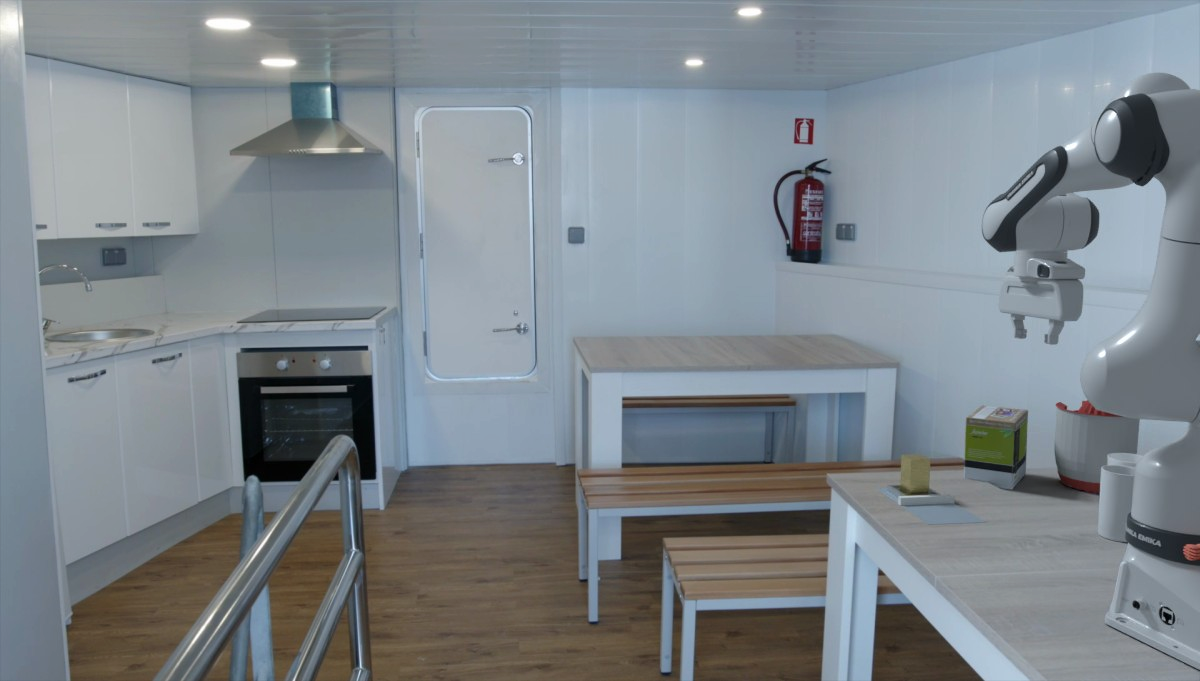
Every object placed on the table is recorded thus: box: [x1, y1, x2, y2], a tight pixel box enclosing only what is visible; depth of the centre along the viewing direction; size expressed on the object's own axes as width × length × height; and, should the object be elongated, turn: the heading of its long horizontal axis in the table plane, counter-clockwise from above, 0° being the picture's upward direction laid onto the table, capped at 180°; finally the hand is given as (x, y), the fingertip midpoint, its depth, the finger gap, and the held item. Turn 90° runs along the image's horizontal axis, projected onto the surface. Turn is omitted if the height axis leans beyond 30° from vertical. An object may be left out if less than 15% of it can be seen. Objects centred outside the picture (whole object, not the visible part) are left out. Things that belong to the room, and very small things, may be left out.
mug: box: [1097, 465, 1135, 543], centre depth 153 cm, size 10×7×12 cm, turn 150°
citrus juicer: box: [1054, 399, 1141, 494], centre depth 182 cm, size 16×17×20 cm
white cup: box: [1107, 453, 1144, 468], centre depth 168 cm, size 8×8×10 cm
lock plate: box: [875, 487, 987, 526], centre depth 167 cm, size 22×11×2 cm, turn 7°
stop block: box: [899, 453, 931, 495], centre depth 172 cm, size 4×4×8 cm
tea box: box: [963, 405, 1029, 491], centre depth 187 cm, size 15×10×15 cm
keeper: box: [886, 484, 942, 498], centre depth 173 cm, size 8×8×1 cm
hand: (1035, 341), depth 164 cm, fingers open, 8 cm apart
